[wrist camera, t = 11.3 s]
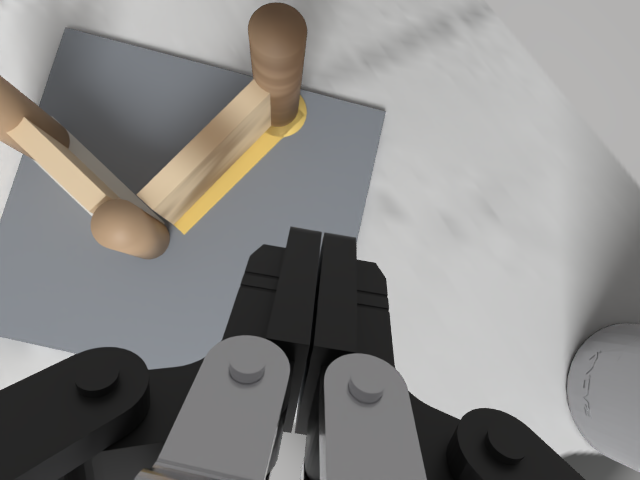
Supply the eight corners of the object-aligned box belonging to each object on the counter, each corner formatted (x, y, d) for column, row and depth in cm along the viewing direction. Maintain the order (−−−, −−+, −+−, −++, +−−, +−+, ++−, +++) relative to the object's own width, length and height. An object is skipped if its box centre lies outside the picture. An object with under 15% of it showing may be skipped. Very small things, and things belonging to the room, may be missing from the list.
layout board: (384, 113, 33) (429, 35, 23) (319, 406, 30) (339, 457, 20) (62, 29, 31) (-33, -92, 22) (-38, 326, 28) (-201, 341, 19)
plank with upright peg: (182, 233, 30) (142, 205, 21) (150, 203, 30) (96, 162, 21) (307, 106, 31) (319, 30, 22) (276, 78, 31) (275, -9, 23)
